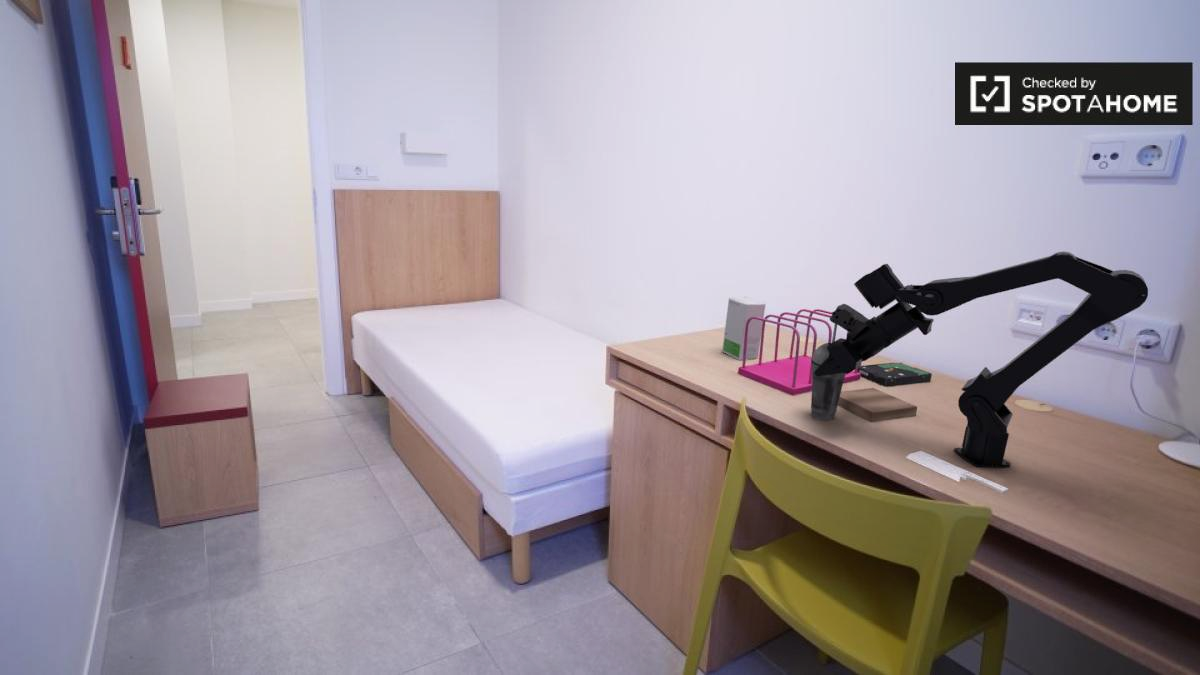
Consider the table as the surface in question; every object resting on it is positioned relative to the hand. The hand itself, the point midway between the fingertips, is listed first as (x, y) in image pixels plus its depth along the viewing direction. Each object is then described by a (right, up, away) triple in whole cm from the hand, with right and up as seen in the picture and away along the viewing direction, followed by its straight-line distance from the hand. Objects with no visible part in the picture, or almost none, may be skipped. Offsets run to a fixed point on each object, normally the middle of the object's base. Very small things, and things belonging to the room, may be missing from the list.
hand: (821, 370), depth 123 cm
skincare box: (-7, +1, +43) cm, 43 cm away
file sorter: (+4, -3, +27) cm, 27 cm away
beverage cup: (+1, -10, +2) cm, 10 cm away
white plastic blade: (+14, -17, -21) cm, 31 cm away
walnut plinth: (+13, -9, +7) cm, 18 cm away
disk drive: (+28, -4, +29) cm, 41 cm away
